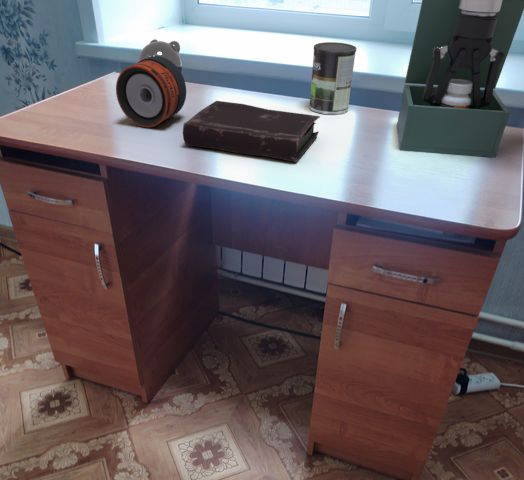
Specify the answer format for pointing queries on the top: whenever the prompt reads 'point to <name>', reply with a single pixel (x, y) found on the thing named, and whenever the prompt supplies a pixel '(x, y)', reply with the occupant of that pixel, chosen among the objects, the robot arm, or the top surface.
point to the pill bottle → (457, 94)
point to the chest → (450, 125)
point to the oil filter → (151, 91)
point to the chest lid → (440, 33)
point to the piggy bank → (163, 51)
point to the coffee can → (331, 77)
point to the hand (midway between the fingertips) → (446, 137)
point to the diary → (251, 130)
